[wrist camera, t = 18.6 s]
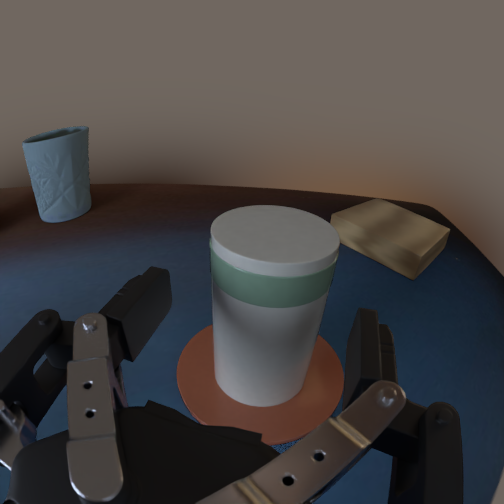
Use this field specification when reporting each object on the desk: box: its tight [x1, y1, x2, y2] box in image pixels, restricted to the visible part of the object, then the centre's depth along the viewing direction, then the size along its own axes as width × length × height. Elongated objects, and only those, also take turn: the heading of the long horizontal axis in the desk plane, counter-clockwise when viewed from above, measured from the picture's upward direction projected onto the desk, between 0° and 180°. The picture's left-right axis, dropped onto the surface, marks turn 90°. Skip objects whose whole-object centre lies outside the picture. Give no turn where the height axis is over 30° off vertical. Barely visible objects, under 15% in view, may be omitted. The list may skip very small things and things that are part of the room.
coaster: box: [177, 324, 344, 445], centre depth 20 cm, size 11×11×1 cm
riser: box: [330, 198, 450, 280], centre depth 37 cm, size 12×12×3 cm
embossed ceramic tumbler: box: [22, 126, 91, 223], centre depth 38 cm, size 10×10×12 cm
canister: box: [210, 205, 340, 407], centre depth 17 cm, size 6×6×10 cm
